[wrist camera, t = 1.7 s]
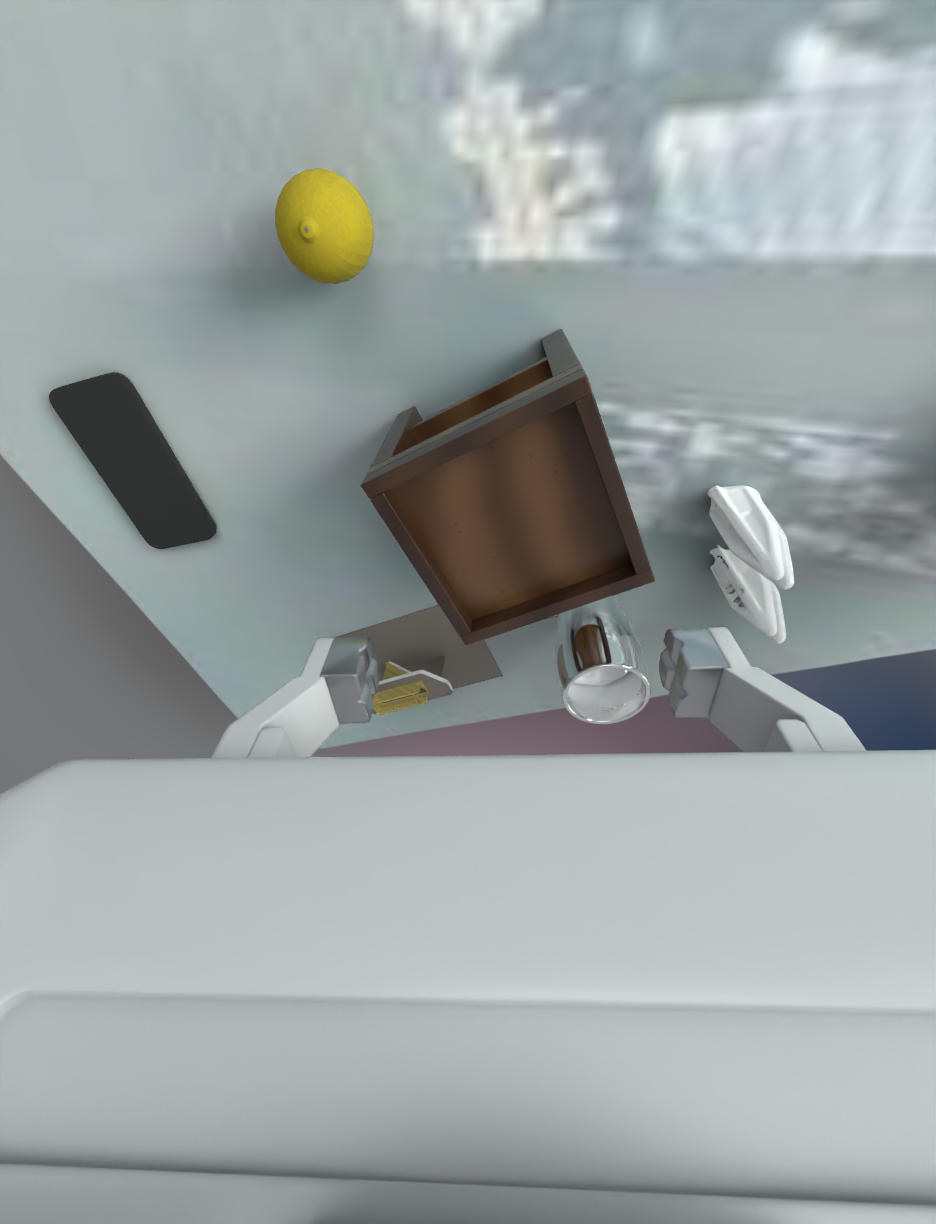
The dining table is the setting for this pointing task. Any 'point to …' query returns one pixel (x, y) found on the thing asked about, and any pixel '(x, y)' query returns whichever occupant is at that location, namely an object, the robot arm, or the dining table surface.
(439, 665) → the platform
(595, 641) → the beer glass
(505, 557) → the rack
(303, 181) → the lemon
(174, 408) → the dining table surface
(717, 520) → the shaker set
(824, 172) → the dining table surface
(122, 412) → the phone
